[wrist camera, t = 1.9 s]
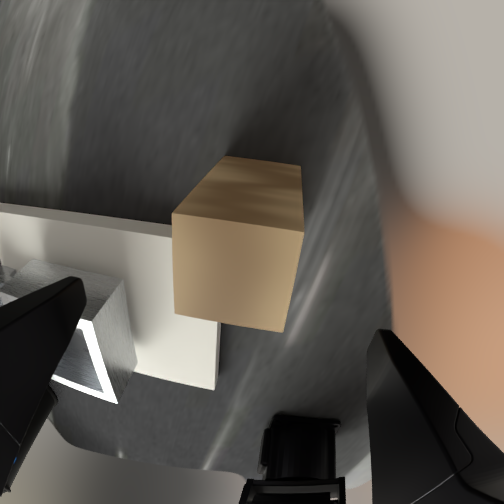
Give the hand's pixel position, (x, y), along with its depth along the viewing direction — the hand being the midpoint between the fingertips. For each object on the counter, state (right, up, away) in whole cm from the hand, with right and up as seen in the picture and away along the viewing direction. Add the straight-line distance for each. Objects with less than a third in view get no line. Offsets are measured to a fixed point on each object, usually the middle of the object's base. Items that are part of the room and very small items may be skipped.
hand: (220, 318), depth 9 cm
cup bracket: (-14, -2, +12) cm, 18 cm away
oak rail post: (+1, +5, +8) cm, 10 cm away
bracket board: (-11, -1, +14) cm, 17 cm away
